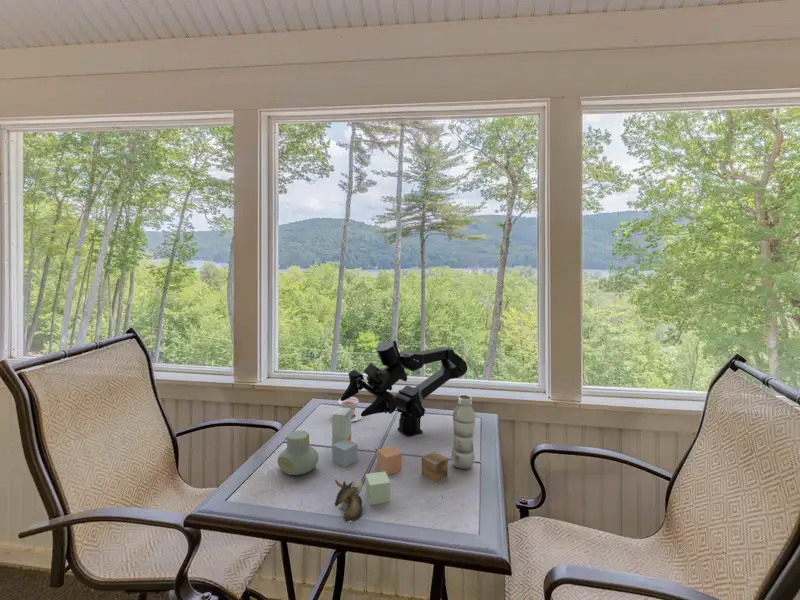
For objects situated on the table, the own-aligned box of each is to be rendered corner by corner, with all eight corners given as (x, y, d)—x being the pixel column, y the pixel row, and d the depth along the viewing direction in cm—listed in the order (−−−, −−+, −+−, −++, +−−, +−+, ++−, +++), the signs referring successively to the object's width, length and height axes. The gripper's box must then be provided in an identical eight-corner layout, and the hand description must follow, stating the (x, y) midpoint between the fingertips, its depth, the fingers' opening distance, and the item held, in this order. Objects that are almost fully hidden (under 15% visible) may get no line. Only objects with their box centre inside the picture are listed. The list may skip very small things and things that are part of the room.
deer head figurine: (325, 495, 93) (326, 512, 84) (342, 468, 94) (344, 482, 85) (352, 510, 94) (356, 528, 85) (368, 483, 95) (373, 498, 86)
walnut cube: (434, 468, 108) (434, 451, 107) (447, 476, 104) (447, 458, 104) (421, 474, 105) (421, 457, 104) (434, 482, 101) (435, 464, 100)
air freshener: (273, 469, 106) (272, 434, 105) (296, 457, 112) (296, 424, 111) (300, 483, 100) (299, 446, 99) (323, 469, 106) (323, 434, 105)
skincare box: (345, 454, 115) (345, 415, 114) (331, 452, 116) (331, 414, 114) (351, 444, 121) (351, 408, 119) (338, 443, 121) (338, 406, 120)
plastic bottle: (460, 473, 105) (463, 403, 103) (446, 462, 111) (448, 395, 109) (479, 468, 108) (481, 399, 106) (464, 457, 114) (466, 392, 112)
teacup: (361, 423, 137) (362, 407, 136) (328, 423, 137) (328, 406, 136) (365, 410, 149) (365, 395, 148) (334, 410, 149) (334, 394, 148)
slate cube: (345, 454, 115) (345, 438, 114) (357, 460, 111) (357, 443, 111) (332, 461, 111) (332, 444, 110) (344, 467, 108) (344, 450, 107)
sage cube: (384, 490, 97) (385, 471, 97) (390, 501, 92) (390, 482, 92) (365, 493, 96) (365, 474, 95) (369, 505, 91) (369, 485, 91)
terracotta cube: (392, 462, 111) (392, 445, 110) (401, 470, 106) (401, 453, 106) (377, 466, 108) (377, 449, 108) (385, 475, 104) (386, 457, 103)
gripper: (364, 346, 124) (326, 374, 115) (407, 371, 112) (367, 404, 103) (369, 371, 130) (333, 399, 121) (410, 398, 118) (373, 431, 109)
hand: (350, 407), depth 114 cm, fingers open, 9 cm apart
